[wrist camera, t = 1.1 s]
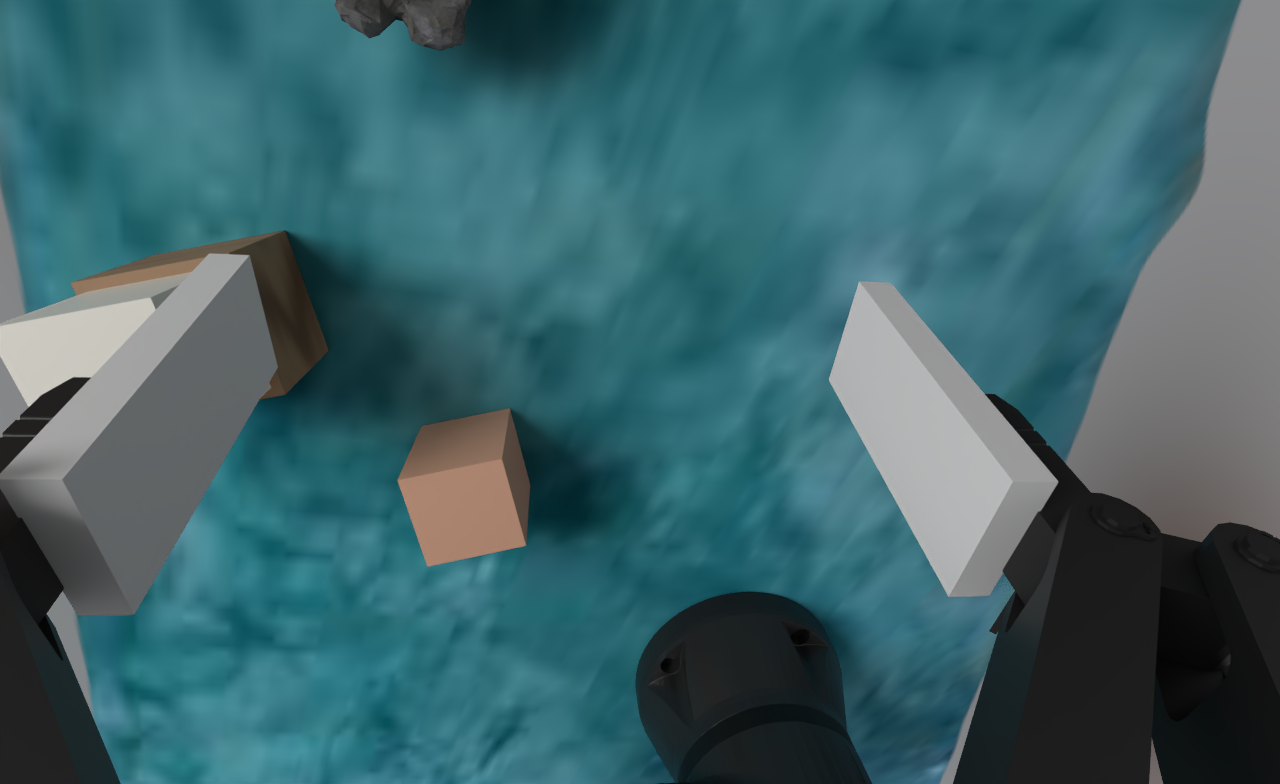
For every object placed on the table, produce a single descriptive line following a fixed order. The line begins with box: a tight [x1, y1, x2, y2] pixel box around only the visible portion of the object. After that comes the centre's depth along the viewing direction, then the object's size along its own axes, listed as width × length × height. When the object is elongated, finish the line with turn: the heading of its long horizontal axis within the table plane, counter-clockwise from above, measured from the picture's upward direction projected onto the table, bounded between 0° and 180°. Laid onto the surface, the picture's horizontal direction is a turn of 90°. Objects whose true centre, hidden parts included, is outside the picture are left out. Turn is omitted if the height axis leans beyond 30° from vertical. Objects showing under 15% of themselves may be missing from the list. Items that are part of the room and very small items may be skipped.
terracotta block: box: [398, 408, 530, 566], centre depth 40 cm, size 6×6×7 cm
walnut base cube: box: [71, 230, 329, 400], centre depth 35 cm, size 7×7×7 cm
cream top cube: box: [0, 272, 271, 407], centre depth 29 cm, size 6×6×6 cm
